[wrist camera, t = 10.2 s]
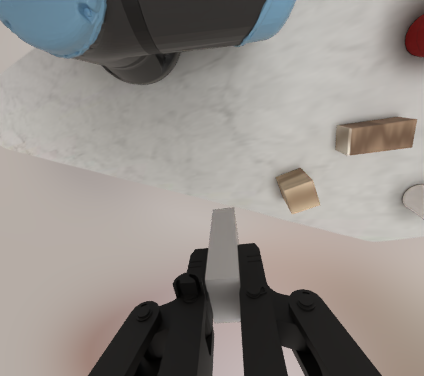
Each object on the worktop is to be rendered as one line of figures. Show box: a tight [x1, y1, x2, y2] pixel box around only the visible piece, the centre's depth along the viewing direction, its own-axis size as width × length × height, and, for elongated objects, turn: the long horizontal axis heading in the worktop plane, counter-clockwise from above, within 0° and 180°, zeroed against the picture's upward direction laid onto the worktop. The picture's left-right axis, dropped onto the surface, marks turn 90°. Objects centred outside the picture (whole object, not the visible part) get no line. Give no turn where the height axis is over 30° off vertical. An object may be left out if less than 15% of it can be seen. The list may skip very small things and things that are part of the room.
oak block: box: [276, 168, 320, 214], centre depth 42 cm, size 5×5×7 cm
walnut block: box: [335, 117, 417, 156], centre depth 39 cm, size 4×4×10 cm
